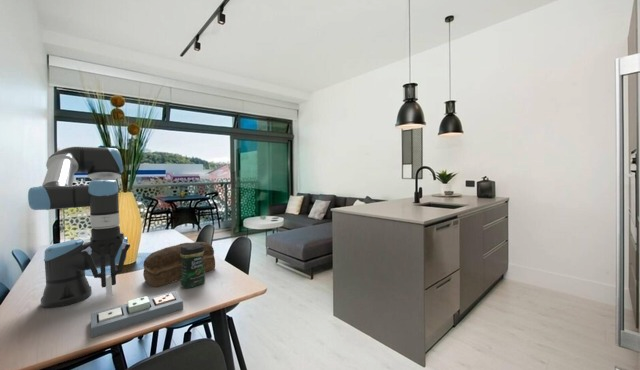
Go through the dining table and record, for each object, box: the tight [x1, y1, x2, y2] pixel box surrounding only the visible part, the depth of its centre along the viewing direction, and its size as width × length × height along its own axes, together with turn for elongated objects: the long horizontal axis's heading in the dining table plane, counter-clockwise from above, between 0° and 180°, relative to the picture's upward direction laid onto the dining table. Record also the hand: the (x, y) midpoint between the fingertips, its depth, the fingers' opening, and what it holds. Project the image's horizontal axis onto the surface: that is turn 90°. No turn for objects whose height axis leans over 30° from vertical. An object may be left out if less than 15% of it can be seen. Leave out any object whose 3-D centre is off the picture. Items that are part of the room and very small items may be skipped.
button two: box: [126, 295, 150, 314], centre depth 95 cm, size 6×6×3 cm
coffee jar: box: [180, 243, 206, 289], centre depth 121 cm, size 10×8×19 cm
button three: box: [153, 293, 175, 306], centre depth 101 cm, size 6×6×3 cm
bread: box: [143, 241, 216, 288], centre depth 133 cm, size 15×32×16 cm, turn 142°
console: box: [90, 290, 184, 338], centre depth 95 cm, size 26×12×3 cm, turn 131°
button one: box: [99, 307, 122, 322], centre depth 90 cm, size 6×6×3 cm
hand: (109, 295), depth 90 cm, fingers closed
